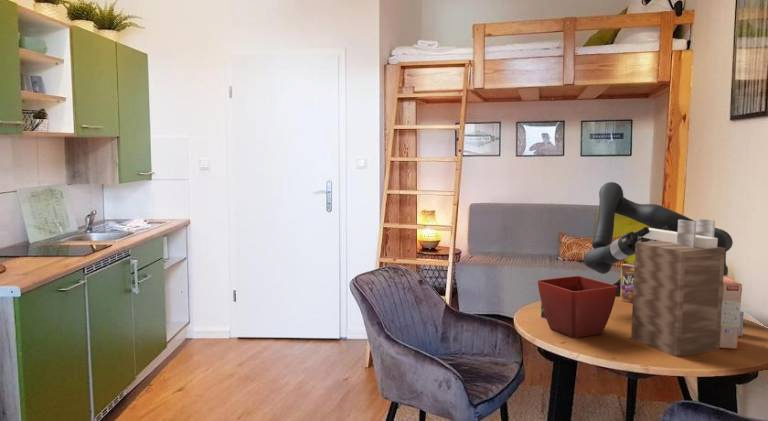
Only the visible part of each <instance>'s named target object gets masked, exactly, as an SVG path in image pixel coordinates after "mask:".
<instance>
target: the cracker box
mask: <svg viewBox="0 0 768 421" xmlns="http://www.w3.org/2000/svg"><path fill="white" fill-rule="evenodd" d="M742 291H743V284H742V283H740V282H738V281H735V280H734V279H731V278H729V277H726V276H723V292H722V308H721V325H720V342H719V349H720V348H721V349H731V350H732V349H733V350H737V349H739V348H738V346H739V336H738V334H739V321H740V309H741V306H742V305H741V303H742Z"/></svg>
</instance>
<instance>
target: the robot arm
mask: <svg viewBox="0 0 768 421" xmlns="http://www.w3.org/2000/svg"><path fill="white" fill-rule="evenodd" d="M598 194H599V195H598V197H599V203H598V204H599V206H598V213H597V214H598V215H597V219H596V223H595V228H594V233H593V238H592V241H591V242H592V243H591V246H592V249H590V250H588V251H586V253H585V254H584V256H583V261H582V262H583V264H584V265H585V266H586V267H587V268H589V269H591V270H593V271H595V272H597V273H599V274H601V275H605V274H607V273H609V272H610V271H611V269H612V267H613V265H614V264H616V263H619V262H621V261H623V260H624V259H625V260H626V259H628V258H629V257H631V256H633V255H634V256H635V243H637V242H653V241H658V240H654V239H648V238H642V237H643V236H644V235H646V234H648V233H649V232H650V231H649V228H654V229H661V230H667V231H674V232H678V220H687V221H695V222H696V221H697V220H694V219H692V218H690V217H688V216H686V215H683V214H681V213H679V212H676V211H674V210H672V209H669V208H668V207H665V206H663V205H660V204H655V203H637V202H635V201H632V200H630V199H628V198H626V197H625V196H624V190H623V188H622V186H621V185H620V184H619V183H617V182H614V181H612V182H611V181H610V182H609V181H608V182H606V183H604V184H603V185H602V186H600V189H599V191H598ZM615 214H616V215H619V216H623V217H626V218H629V219H630V220H634V222H635V221H636V222H638V223H640V224H643V225H645V227H642V228H640V229H639V230H636V231H630V232H627V233H626V234H623V235H622V236H620V237H618V238H617V239H615V240H614V241H613V237H614V232H615ZM714 238H718V242H717V247H722V248H725V259H724V275H723V276H726V277H728V274H729V268H728V266H727V262H726V261H727V258H726V257H727V252H728V251H729V250H730V249H731V248H732V247H733V244H734V241H733V238H732V236H731V234H729V233H728V232H727V231H726V230H725V229H721V228H718V227H715V231H714ZM728 278H729V277H728Z"/></svg>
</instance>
